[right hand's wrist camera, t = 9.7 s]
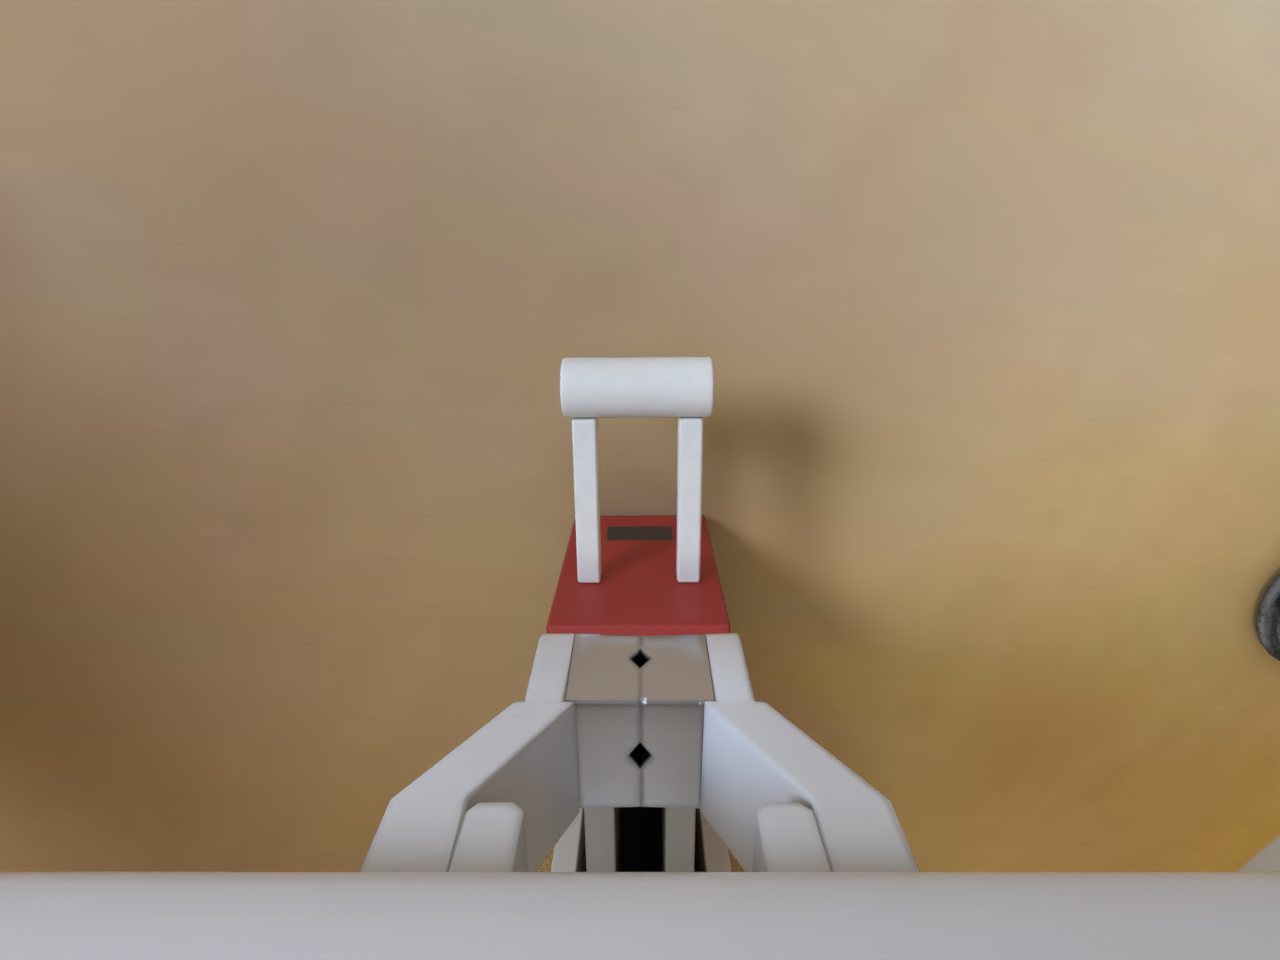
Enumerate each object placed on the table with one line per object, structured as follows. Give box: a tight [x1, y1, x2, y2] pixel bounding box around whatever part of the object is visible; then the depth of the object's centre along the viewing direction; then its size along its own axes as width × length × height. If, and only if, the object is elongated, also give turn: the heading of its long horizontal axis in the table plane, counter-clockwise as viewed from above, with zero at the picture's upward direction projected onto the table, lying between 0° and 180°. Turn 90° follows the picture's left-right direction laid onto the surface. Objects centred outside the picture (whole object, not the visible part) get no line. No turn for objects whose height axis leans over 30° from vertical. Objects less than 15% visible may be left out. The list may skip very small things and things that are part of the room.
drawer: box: [546, 357, 730, 872], centre depth 21 cm, size 22×4×7 cm, turn 0°
